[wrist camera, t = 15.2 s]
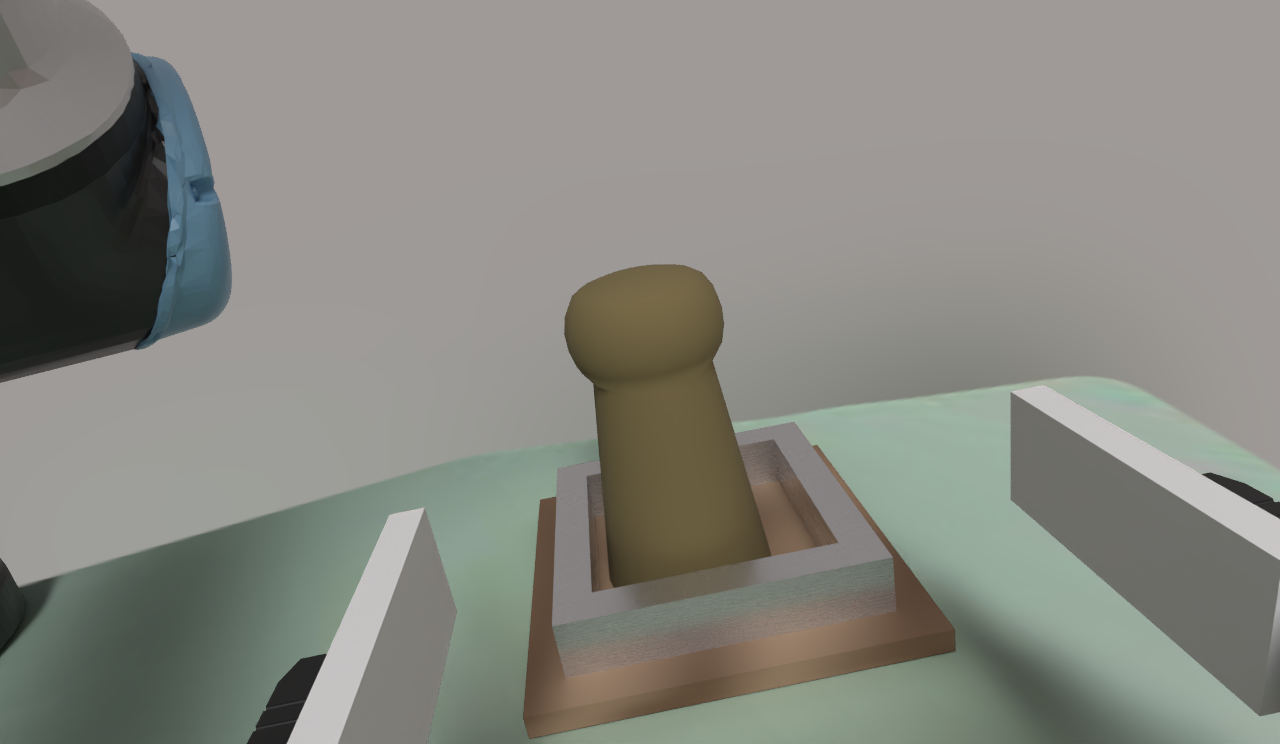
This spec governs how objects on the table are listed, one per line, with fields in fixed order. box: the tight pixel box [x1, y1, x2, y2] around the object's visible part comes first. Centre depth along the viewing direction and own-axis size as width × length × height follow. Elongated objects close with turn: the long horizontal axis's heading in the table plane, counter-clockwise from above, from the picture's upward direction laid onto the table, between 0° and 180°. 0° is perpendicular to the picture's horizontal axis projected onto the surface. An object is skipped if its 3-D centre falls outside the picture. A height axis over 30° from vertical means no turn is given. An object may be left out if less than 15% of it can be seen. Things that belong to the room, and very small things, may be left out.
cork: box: [564, 265, 771, 588], centre depth 26 cm, size 6×6×11 cm
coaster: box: [523, 422, 955, 739], centre depth 28 cm, size 13×13×3 cm
